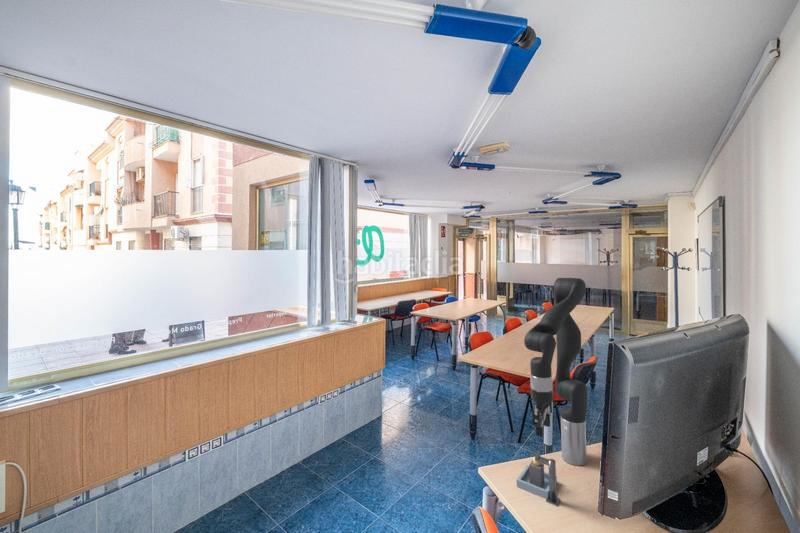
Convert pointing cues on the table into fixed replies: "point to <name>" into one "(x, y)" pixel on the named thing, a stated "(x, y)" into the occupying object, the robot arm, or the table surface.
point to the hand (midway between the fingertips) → (543, 430)
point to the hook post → (552, 477)
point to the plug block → (536, 473)
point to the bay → (524, 483)
